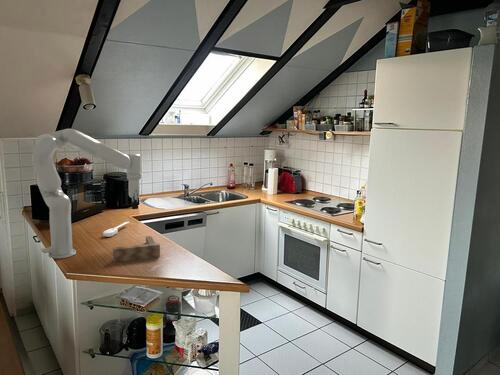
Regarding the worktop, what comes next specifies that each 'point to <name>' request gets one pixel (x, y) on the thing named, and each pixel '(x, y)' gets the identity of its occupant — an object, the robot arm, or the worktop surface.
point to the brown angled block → (137, 251)
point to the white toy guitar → (112, 230)
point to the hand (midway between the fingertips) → (135, 208)
